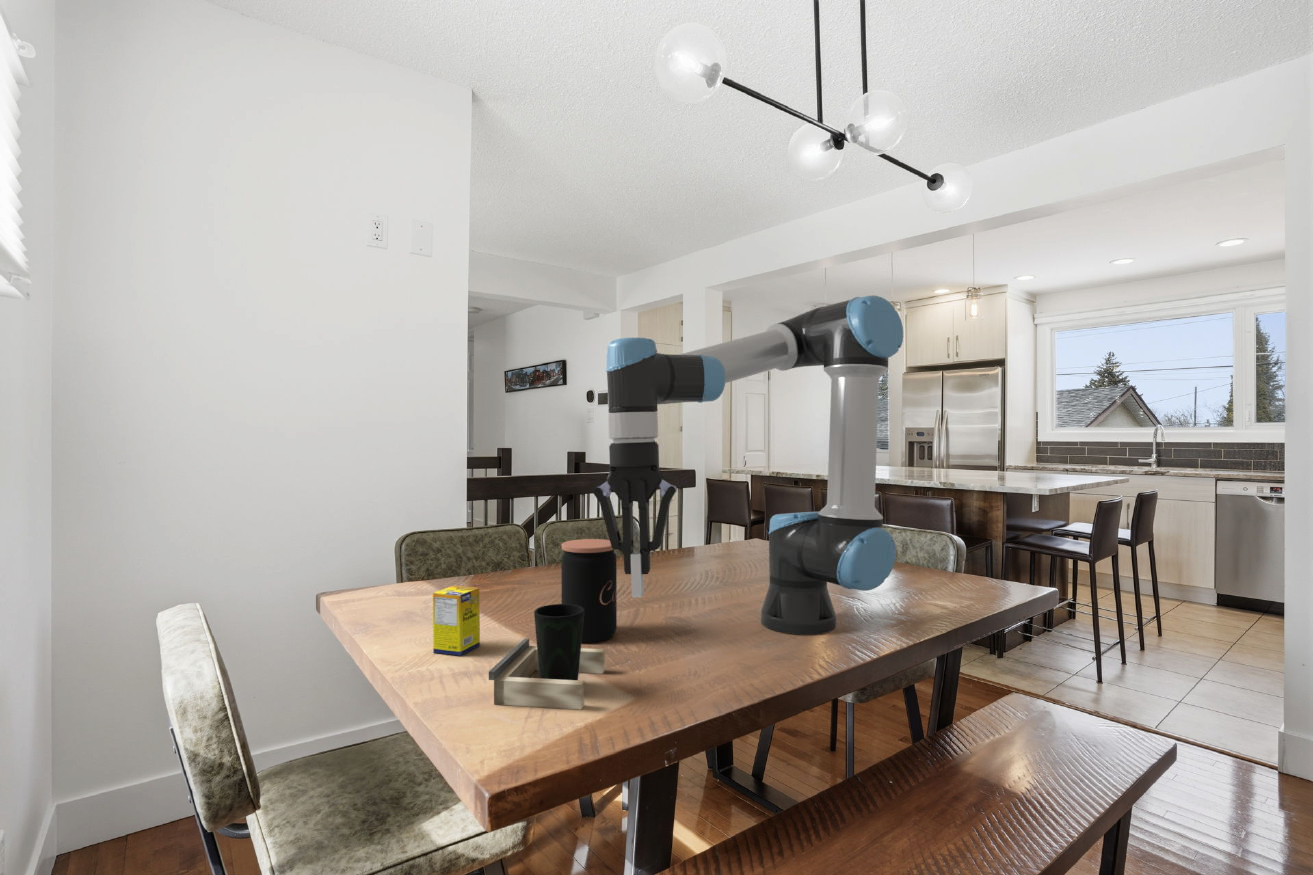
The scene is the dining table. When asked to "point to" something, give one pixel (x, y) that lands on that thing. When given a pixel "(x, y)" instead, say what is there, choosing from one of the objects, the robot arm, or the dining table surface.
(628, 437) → the robot arm
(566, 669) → the cup
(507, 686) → the bay
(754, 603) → the dining table surface
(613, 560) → the coffee jar
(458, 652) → the supplement box
